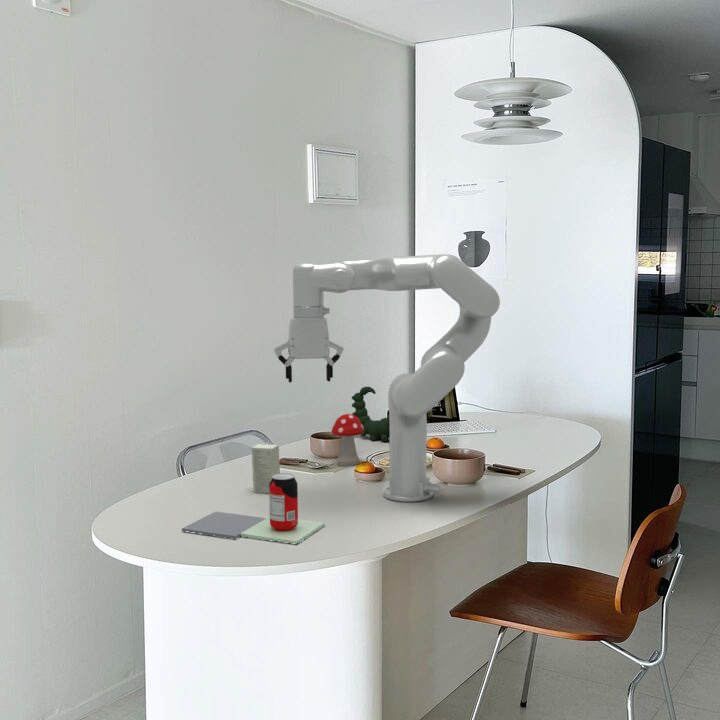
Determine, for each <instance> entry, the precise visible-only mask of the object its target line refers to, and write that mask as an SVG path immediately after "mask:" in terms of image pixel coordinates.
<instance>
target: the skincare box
mask: <svg viewBox="0 0 720 720" xmlns="http://www.w3.org/2000/svg"><path fill="white" fill-rule="evenodd" d="M279 447H280V446H279V444H267V443H258V444H255V445H253V446H251V463H252V486H253V487H252V488H253V491H252V492H254V493H262V494H263V493H264V494H269V483H270V481H271V480H272V475H274V474H279V473H280V472H281V468H280V467H281V466H280V465H281V464H280V448H279Z"/></svg>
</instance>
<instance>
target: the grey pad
mask: <svg viewBox="0 0 720 720" xmlns="http://www.w3.org/2000/svg"><path fill="white" fill-rule="evenodd" d="M266 518H267V517H261V516H260V517H259V516H252V515H246V514H237V513H232V512H231V513H230V512H222V511H213V512H212V513H210V514H208V515H206V516H204V517H202V518H200V519H198V520H196V521H193V522H192V523H190V524H188V525H185V526H184V527H182V528H181V532H182V531H189V532H195V533H202V534H207V535H215V536H220V537H226V538H225V539H227V538H233V539H232V540H234V539H236V538H238V537H239V538H241V537H240V533H242V532H244V531H245V530H247V529H249V528H251V527H252V526H254V525H256V524H258V523H259V522H261V521H263V520H265V519H266ZM207 535H206V536H207ZM220 537H219V538H220ZM239 538H238V539H239ZM236 540H237V539H236Z"/></svg>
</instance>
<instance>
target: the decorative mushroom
mask: <svg viewBox="0 0 720 720" xmlns="http://www.w3.org/2000/svg"><path fill="white" fill-rule="evenodd" d="M362 433H364V428H363V425H362V423H361V421H360V420H359V418H358V417H356V416H355V415H352V413H345V414H342V415H341V416H339V417H338V418H337V419H336V420H335V422H334V424H333V425H332V429H331V434H332V435H333V436H336V437H341V442H340V448H339V449H340V450H339V453H338V457H337V458H336V462H337V464H338V466H341V467H350V466H355V465H358V464H359V460H360V458H359V456H358V452H357V448H356V443H355V437H357V436H361V434H362ZM357 463H358V464H357Z"/></svg>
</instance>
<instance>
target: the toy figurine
mask: <svg viewBox="0 0 720 720" xmlns="http://www.w3.org/2000/svg"><path fill="white" fill-rule="evenodd" d="M369 393H372V394H374V395H376V390H375V389H374V388H372V387H371V386H363V387H362V388H360V391H359V392H356V393H354V395H352V396H351V400H353V401H354V403H352V404H351V408H354V409H355V411H354V412H353V411H352V413H351V414H352V415H355V416H356V417H358V418H359V420H360V421H361V423H362V425H363V428H364V433H362V434H360V436H361V437H363V438H364V437H367V435H369V436H370V438H369V439H370V440H371V442H375V441H376V440H378V439H381V440H382V442H387V441H388V440H389V439H390V421H389V414H388V415H387V417H384V418H383V417H382V418H381V419H380V420H373V419H371V416H370V415H368V412H369V411H368V409H367V408H366V402H365V400H364V396H366V395H367V394H369Z"/></svg>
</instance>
